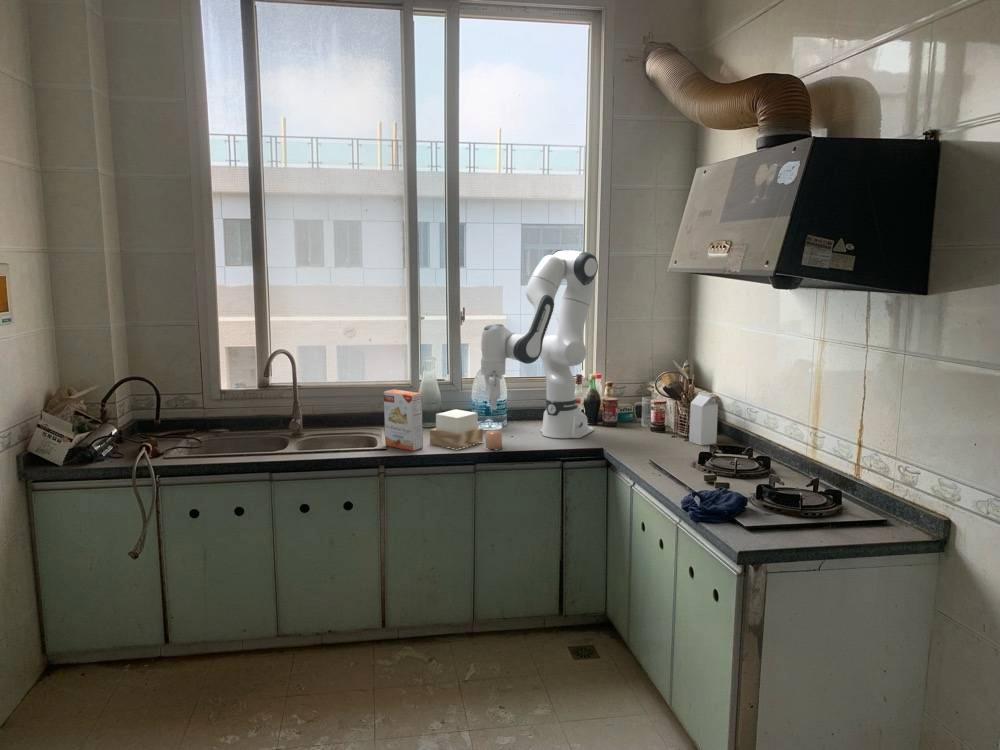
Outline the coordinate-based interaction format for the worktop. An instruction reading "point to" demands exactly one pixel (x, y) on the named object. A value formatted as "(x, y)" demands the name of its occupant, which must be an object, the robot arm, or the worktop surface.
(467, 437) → the tower base
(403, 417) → the cracker box
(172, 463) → the worktop surface
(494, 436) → the pink cylinder
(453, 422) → the tower top
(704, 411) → the milk carton
